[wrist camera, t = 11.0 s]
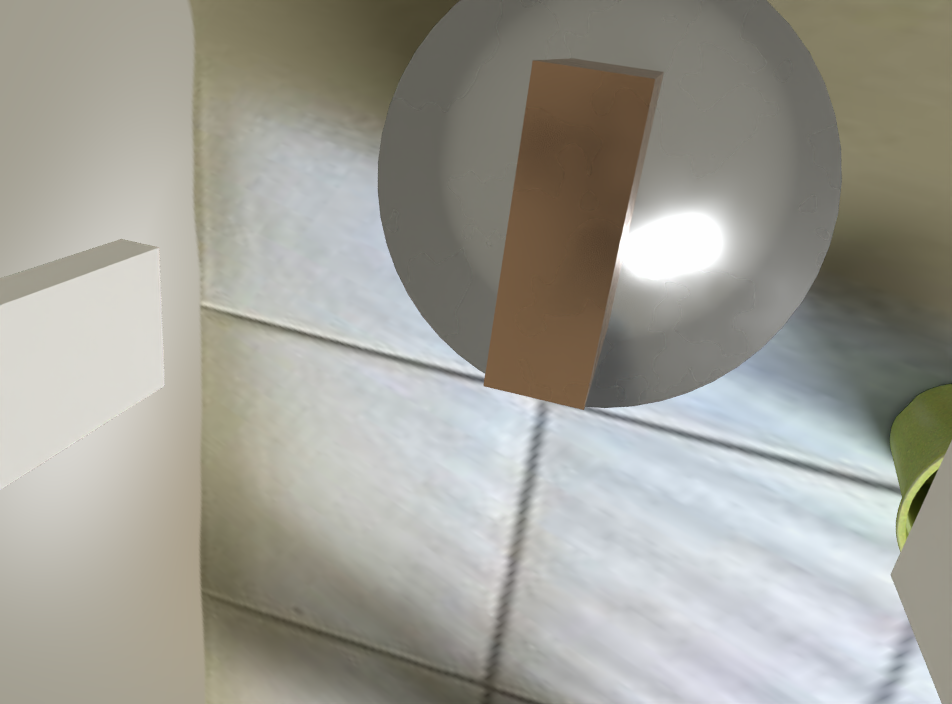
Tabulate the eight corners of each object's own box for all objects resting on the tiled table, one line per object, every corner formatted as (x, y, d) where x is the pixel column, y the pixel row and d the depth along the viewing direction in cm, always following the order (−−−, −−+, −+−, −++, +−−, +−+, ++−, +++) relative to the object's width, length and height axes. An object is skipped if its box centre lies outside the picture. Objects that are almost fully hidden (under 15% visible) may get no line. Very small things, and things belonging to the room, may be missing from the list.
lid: (758, 436, 29) (781, 568, 21) (374, 346, 32) (280, 435, 24) (908, -20, 22) (1017, -56, 15) (409, -80, 25) (295, -133, 18)
